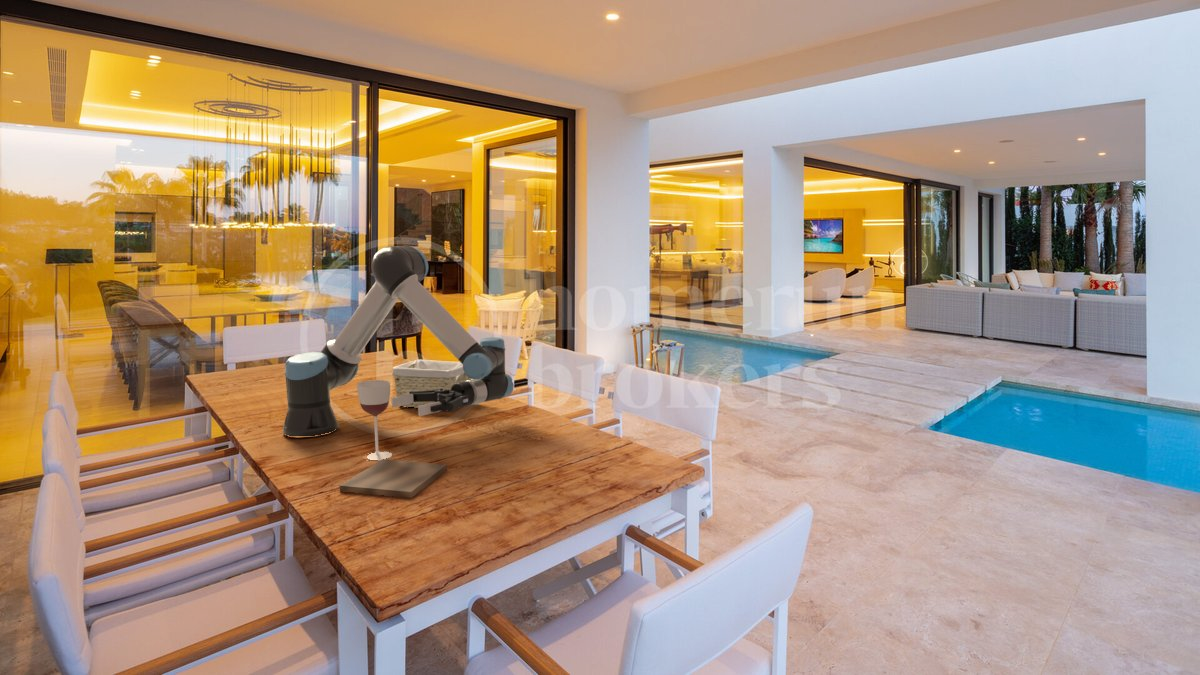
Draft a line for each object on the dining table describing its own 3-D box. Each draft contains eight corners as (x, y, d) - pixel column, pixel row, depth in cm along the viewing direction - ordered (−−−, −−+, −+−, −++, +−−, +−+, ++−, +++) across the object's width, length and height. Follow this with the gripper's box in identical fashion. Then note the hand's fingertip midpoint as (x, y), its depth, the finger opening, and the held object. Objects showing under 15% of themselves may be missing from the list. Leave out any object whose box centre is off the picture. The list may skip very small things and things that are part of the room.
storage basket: (391, 407, 218) (389, 366, 216) (419, 397, 233) (417, 358, 231) (451, 413, 211) (450, 370, 208) (475, 402, 226) (474, 362, 224)
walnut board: (339, 491, 144) (339, 485, 144) (382, 464, 161) (381, 459, 161) (411, 498, 140) (411, 491, 140) (446, 470, 158) (446, 464, 158)
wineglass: (380, 449, 174) (376, 378, 171) (400, 454, 169) (396, 382, 166) (354, 457, 168) (350, 384, 165) (374, 463, 163) (370, 388, 160)
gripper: (494, 412, 181) (431, 428, 165) (444, 398, 197) (382, 411, 182) (494, 387, 180) (430, 401, 164) (443, 375, 196) (381, 386, 181)
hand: (405, 406), depth 173 cm, fingers open, 13 cm apart
